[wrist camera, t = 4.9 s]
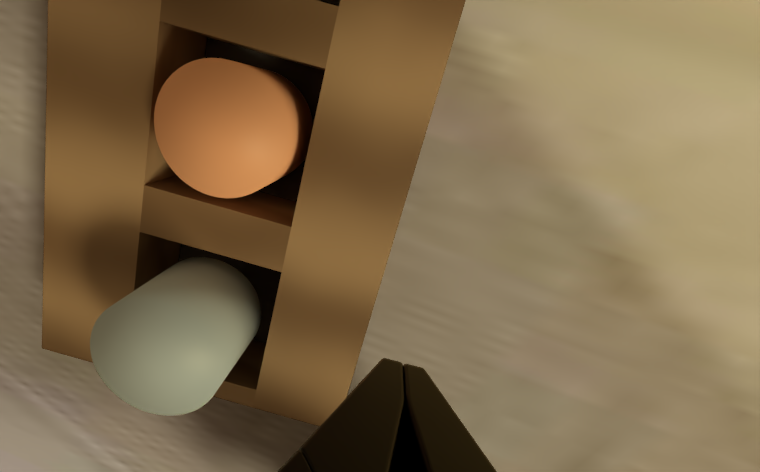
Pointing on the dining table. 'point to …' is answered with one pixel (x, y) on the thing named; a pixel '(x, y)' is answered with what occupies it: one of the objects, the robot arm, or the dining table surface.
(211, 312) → the sage green rounded cylinder
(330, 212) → the wooden compartment tray
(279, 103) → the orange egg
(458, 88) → the dining table surface
